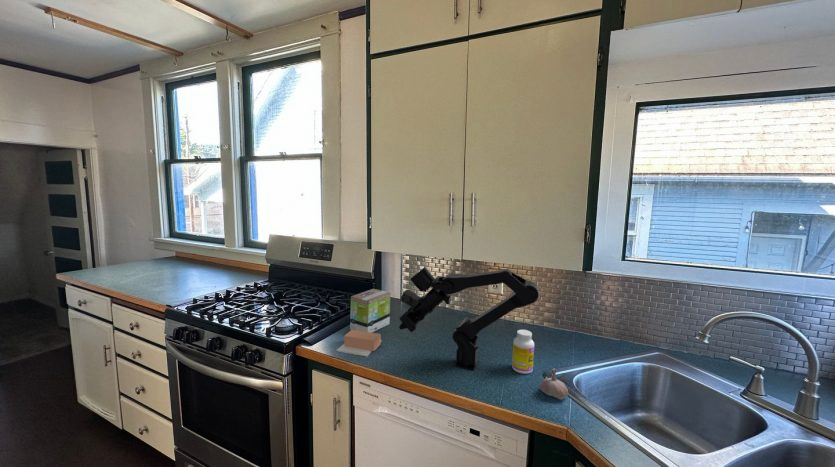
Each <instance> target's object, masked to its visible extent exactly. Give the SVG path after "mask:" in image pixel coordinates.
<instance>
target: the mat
mask: <svg viewBox="0 0 835 467" xmlns="http://www.w3.org/2000/svg"><path fill="white" fill-rule="evenodd" d="M381 342H382V339H381ZM336 352H339V353H345V354H349V355H356V356H361V357H366V358H367V357H368V356H369V355H370V354H371V353H372V352H373V351H370V350H364V349H358V348H352V347H346V346H344V343H343V344H342V345H341V346H339V347H338V348H337V349H336Z"/></svg>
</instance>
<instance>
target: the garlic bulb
mask: <svg viewBox="0 0 835 467" xmlns="http://www.w3.org/2000/svg"><path fill="white" fill-rule="evenodd" d="M551 374H552V375H551V377H546V378H543V379H542V381H541V383H539V384H540V385H539V388H540V391H541V392H543V393H544V394H545V395H547V396H549V397H554V398H556V399H558V400H564V399H566V398H567V397H568V396H569V390H568V387H567V386H566V384H565V383H564V381H563V382H562V381H561V380H560V379H557V374H556V368H555V367H554V368H552V370H551Z"/></svg>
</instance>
